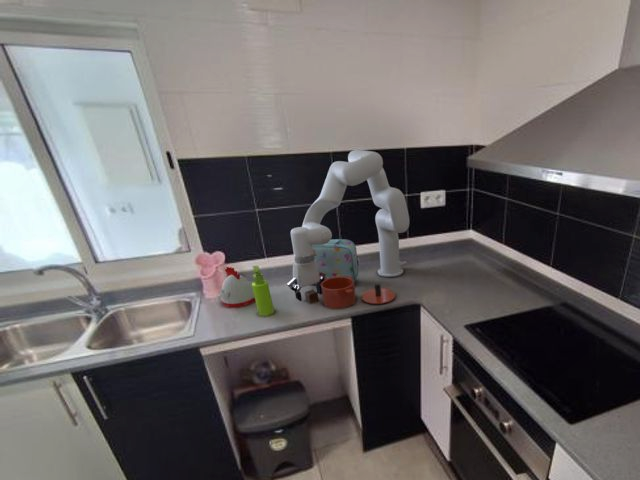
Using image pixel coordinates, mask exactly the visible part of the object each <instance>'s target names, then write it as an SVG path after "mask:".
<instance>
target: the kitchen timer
mask: <svg viewBox="0 0 640 480" xmlns="http://www.w3.org/2000/svg"><path fill="white" fill-rule="evenodd" d="M224 272H225V273H226V275H227V277H226V278H224V280H223V283H222V286H221V288H220V289H219V294H220V300H221V304H222V305H223V306H224V307H226V308H241V307H245V306H248V305H250V304H252V303H254V302H256V300H255V296H254V292H253V288H252V283H253V282H252V281H249V280H248V278H246V277H244V276H243V275H241V274H240V273H238V271H237V270H235V268H234V267H229V266H226V268H225V269H224Z"/></svg>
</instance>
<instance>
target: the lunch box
mask: <svg viewBox="0 0 640 480" xmlns="http://www.w3.org/2000/svg"><path fill="white" fill-rule="evenodd" d="M312 248H313V253H316V256H315V257H314V260H315V261H316V263H317V266H318V270H319V272H322V273H325V274H326V277H325V278H333V277H348V278H351V279H353V281H354V284H355V283H356V281H357V278H358V275H359V265H360V264H361V261H360V258H359V256H358V253H357V246H356V244H355V243H354V242H353V241H352V240H350V239H346V238H345V239H344V238H337V239H332V238H331V240H330V241H329V242H328V243H326V244H322V245H312ZM320 278H321V275H320ZM316 284H317V283H315V284H314V285H316Z"/></svg>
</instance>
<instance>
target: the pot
mask: <svg viewBox="0 0 640 480" xmlns="http://www.w3.org/2000/svg"><path fill="white" fill-rule="evenodd" d="M355 285H356V284H355V283H354V281H353V279H351V278H348V277H333V278H325V280H324V281H323V282H322V283H321V291H322V294H321V297H322V303H323V305H324V306H325V308H328V309H333V310H334V309H335V310H336V309H337V310H338V309H345V308H349V307H352V306H353V305H354V304H355V303H356V302H357V301H356V300H357V295H356V286H355Z"/></svg>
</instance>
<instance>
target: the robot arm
mask: <svg viewBox="0 0 640 480" xmlns="http://www.w3.org/2000/svg"><path fill="white" fill-rule="evenodd" d="M383 165H384V160H383V157H382V155H381V154H380V153H379V152H376V151H371V150H364V149H353V150H351V151H349V153H348V154H347V161H342V160H337V161H334V162H332V163H331V165H330V166H329V169H328V171H327V175H326V178H325V180H324V182H323V186H322V188H321V190H320V191H321V192H320V194H319V196H318V197H317V198H316V199H315V201H314V202H313V203H312V204H311V205H310V207H309V208H308V209H307V211H306V213H305V216H304V219H303V222H302V225H301V226H298V227H294V228H292V229H291V230H290V238H291V245H292V251H293V258H294V262H293V263H292V279H291V280H290V281H289V282H287V283H286V285H287V287H288V288H289V289H290V290H292V291H293V292H294V295H295V299H296V300H297V301H299V302H302V301H303V298H302V292H301V289H302V288H304V287H308V286H311V285H315V288H316V289H315V290H316V292H317V293H318V295H321V296H322V291H321V283H322V282H323V281H324V280H325V277H326V274H325V273H322V272H319V270H318V266H317V263H316V261H315V260H314V257H315V256H316V253H313V248H312V245H322V244H326V243H328V242H329V241H330V240H331V239H332V237H333V234H332V231H331V229H330V228H329V227H327V226H325V225H322V224H321V223H322V220H323V218H324V216H325V215H326V214H327V213H328V212H329V211H332V210H334V209H336V208H338V207H339V206H340V205H341V203H342V200H343V198H344V195H345V192H346V189H347V187H348V186H351V187H354V186H358V185H360V184H362V183H364V182H365V181H367V184H368V187H369V190H370V195H371V198H372V202H373V204H374V205H375V206H376V207H378V208H380V209H379V210H378V211H377V212H376V214H375V218H374V220H375V225H376V229H377V234H378V235H377V236H378V250H379V263H380V268H378V269H377V274H378V275H379V276H381V277H384V278H395V277H399V276H401V275H402V274H403V273H404V268H402V267H404V266H407V265H408V263H407V261H406V260H404V261H401V260H400V238H399V234H403V233H405V232H407V231H408V229H409V227H410V214H409V210H408V206H407V201H406V197H405V195H404V193H403V192H402V190H400V189H399V188H397V187H393V186H392V187H391V186H390V184H389V181H388V178H387V174H386V171H385V169H384V167H383ZM320 275H321V278H320ZM315 283H317V284H315Z"/></svg>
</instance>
